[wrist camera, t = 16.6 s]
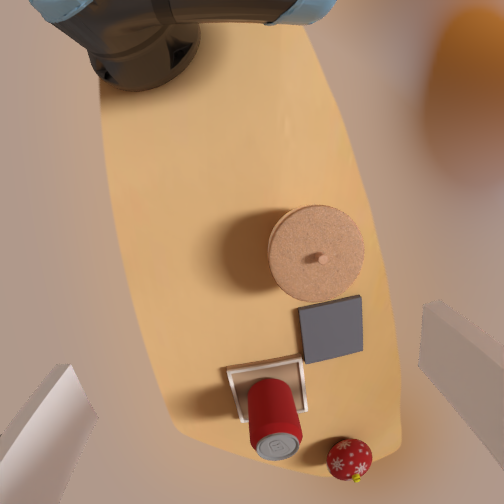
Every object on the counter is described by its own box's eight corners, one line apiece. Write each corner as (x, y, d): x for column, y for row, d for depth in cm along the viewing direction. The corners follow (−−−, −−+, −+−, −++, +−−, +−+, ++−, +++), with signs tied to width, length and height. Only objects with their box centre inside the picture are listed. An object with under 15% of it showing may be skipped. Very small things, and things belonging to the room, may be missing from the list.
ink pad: (297, 307, 42) (299, 310, 42) (358, 294, 43) (361, 297, 42) (304, 360, 45) (305, 364, 44) (360, 347, 45) (362, 350, 44)
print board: (226, 366, 44) (226, 371, 43) (300, 353, 44) (302, 358, 43) (240, 417, 47) (241, 423, 45) (306, 406, 47) (308, 411, 45)
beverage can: (256, 412, 45) (262, 468, 34) (240, 384, 44) (241, 441, 32) (296, 399, 45) (311, 453, 33) (282, 369, 44) (295, 424, 32)
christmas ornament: (362, 451, 51) (377, 485, 41) (322, 461, 51) (333, 498, 41) (365, 425, 49) (383, 461, 39) (321, 436, 49) (334, 476, 39)
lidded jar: (299, 296, 42) (315, 327, 33) (245, 239, 40) (248, 258, 31) (357, 243, 41) (388, 261, 32) (307, 183, 39) (328, 184, 30)
